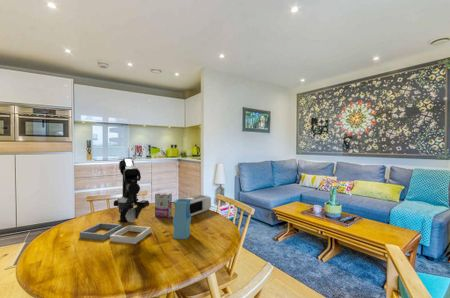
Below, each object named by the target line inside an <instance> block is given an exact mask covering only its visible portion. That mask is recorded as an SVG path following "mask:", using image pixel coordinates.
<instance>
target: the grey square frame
mask: <svg viewBox="0 0 450 298" xmlns="http://www.w3.org/2000/svg"><path fill="white" fill-rule="evenodd" d="M122 228H123V224H119V223H107V222H98V224H95V225H93V226H90V227H88V228H85V229H84V230H81V231H80V232H79V238H80V239H87V240H95V241H96V240H97V241H105V240H107V239H108V238H109V239H110V235H112V234H114V233H115V232H117V231H119V230H121V229H122ZM100 229H105V230H108V231H106V232H103V233H99V232H96V231H98V230H100Z"/></svg>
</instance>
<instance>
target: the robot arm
mask: <svg viewBox="0 0 450 298" xmlns="http://www.w3.org/2000/svg"><path fill="white" fill-rule="evenodd" d="M134 162H135V161H134V160H133V158H132V157H124V158H122V160H120V161H119V163H118V170H119V172H120V174H121V175H122V192H121V193H122V197H121V198H117V199H115V200H114V201H113V207H117V209H118V213H119V214H120V215H119V220H118V221H117V222H122V223H129V222H128V221H127V219H126V217H125V216H126V213H127V212H128V210H129V209H131V208H133V209H135V210H136V213H135V217H136V219H135V220H138V218H139V216H140V213H142V212H141V211H142V210H143V209H145V208H147V207H148V206H149V207H150V201H149V200H146V199H145V200H144V199H142V200H140V201H139V198H138V194H139V192H140V191H141V186H140V185H139V183H138V182H139V181H141V179H142V176H141V171H140V170H139V169H138V167H137V166H135V163H134ZM134 206H136V207H134Z"/></svg>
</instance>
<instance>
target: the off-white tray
mask: <svg viewBox="0 0 450 298" xmlns="http://www.w3.org/2000/svg"><path fill="white" fill-rule="evenodd" d="M128 232H136V233H139V234H138V235H136V236H129V235H128V236H126V235H124V234H126V233H128ZM151 233H152V227H151V226H143V225H142V226H140V225H138V226H137V225H129V224H128V225H126V226H124V227H122V229H121V230H119V231H117V232H115V233H114V234H112V235H110V237H109V241H110V242H113V243H114V242H115V243H123V244H133V245H136V244H138V242H141V240H143V239H144V238H145V237H146V236H148V235H149V234H151Z"/></svg>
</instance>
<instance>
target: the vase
mask: <svg viewBox="0 0 450 298" xmlns="http://www.w3.org/2000/svg"><path fill="white" fill-rule="evenodd" d="M190 202H191V199H187V198H177V199H175V200H174V201H173V205H174V214H173V219H172V224H173V235H172V239H176V240H177V239H178V240H186V239H187V240H188V239H189V237H190V236H191V230H190V229H191V228H190V227H191V221H192V216H191V214H190V210H189V207H190Z"/></svg>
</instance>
